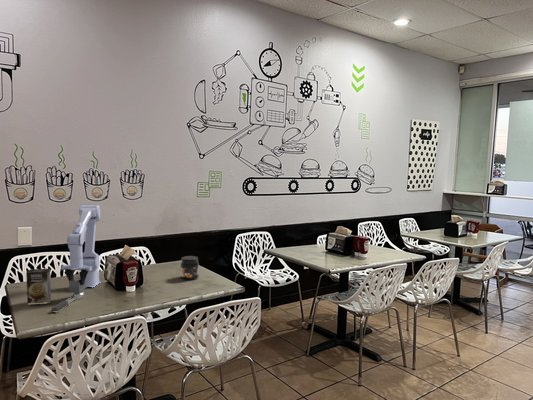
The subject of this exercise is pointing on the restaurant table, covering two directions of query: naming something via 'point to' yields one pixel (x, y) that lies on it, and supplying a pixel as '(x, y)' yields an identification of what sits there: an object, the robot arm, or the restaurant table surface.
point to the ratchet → (68, 301)
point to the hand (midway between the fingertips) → (77, 284)
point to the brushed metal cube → (75, 285)
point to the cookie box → (38, 286)
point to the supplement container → (189, 268)
